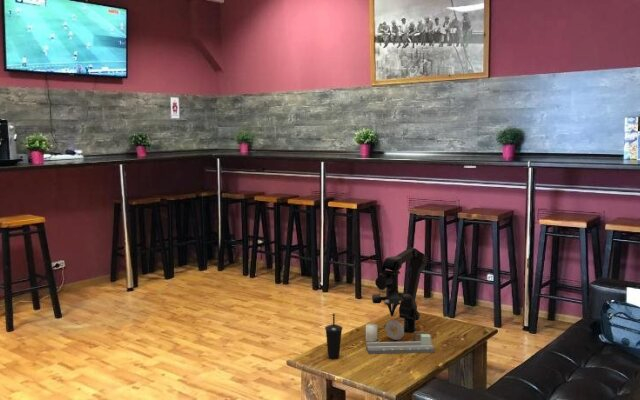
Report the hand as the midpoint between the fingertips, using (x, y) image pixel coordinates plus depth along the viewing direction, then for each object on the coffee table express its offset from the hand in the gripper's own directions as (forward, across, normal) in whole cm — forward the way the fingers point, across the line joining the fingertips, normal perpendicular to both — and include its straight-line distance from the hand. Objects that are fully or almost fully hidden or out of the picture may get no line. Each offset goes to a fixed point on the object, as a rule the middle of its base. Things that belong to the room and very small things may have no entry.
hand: (391, 315), depth 285 cm
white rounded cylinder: (+12, -10, 0) cm, 15 cm away
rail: (+12, +2, -13) cm, 18 cm away
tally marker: (+10, +14, -13) cm, 22 cm away
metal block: (+12, +13, -2) cm, 18 cm away
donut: (+12, +1, 0) cm, 12 cm away
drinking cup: (+12, -29, -21) cm, 38 cm away
